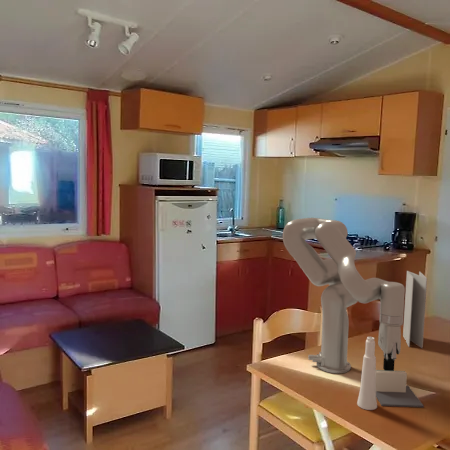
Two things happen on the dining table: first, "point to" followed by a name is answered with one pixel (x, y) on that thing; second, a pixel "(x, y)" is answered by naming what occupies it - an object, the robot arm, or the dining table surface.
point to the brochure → (414, 308)
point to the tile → (391, 381)
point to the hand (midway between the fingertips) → (388, 370)
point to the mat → (399, 398)
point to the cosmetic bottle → (368, 378)
